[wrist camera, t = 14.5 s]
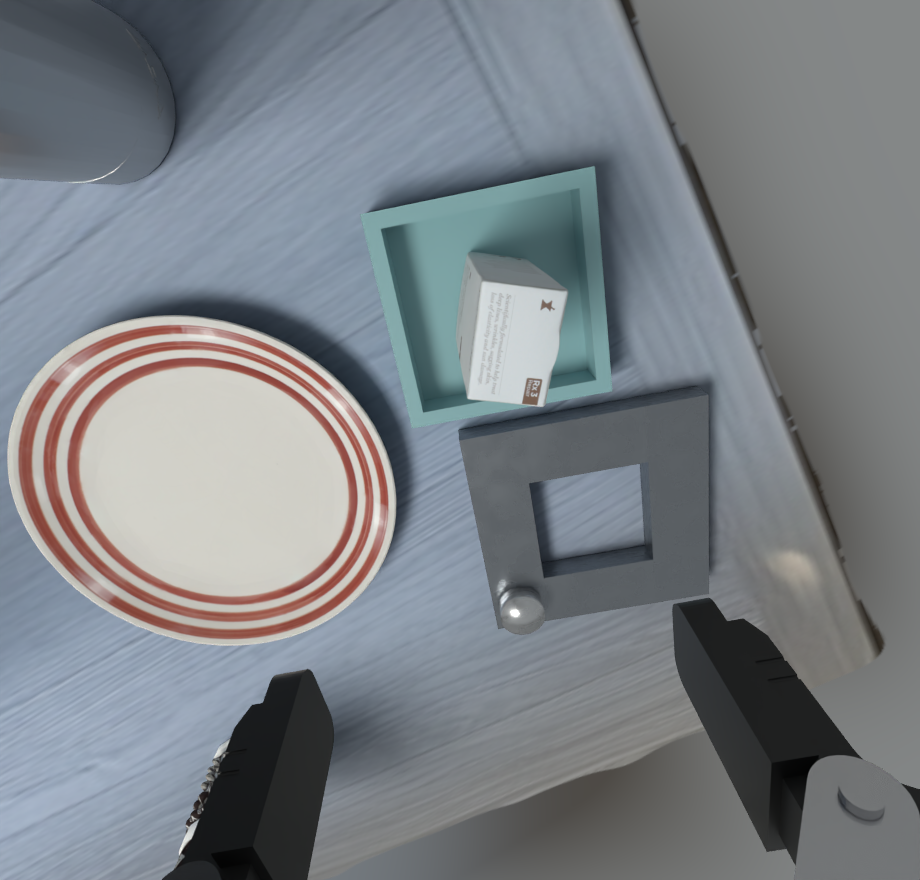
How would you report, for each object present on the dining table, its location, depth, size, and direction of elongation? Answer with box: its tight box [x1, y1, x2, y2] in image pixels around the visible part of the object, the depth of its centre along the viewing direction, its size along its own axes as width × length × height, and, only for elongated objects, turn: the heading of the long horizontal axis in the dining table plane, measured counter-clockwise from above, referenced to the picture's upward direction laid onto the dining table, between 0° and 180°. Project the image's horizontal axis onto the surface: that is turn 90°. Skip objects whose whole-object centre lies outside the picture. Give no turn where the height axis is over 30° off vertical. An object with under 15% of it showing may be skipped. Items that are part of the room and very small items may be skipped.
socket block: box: [459, 386, 709, 635], centre depth 43 cm, size 18×18×4 cm
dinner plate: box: [7, 315, 396, 646], centre depth 41 cm, size 28×27×3 cm
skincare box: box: [456, 252, 568, 407], centre depth 31 cm, size 6×4×12 cm
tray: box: [360, 166, 612, 428], centre depth 36 cm, size 14×14×3 cm
